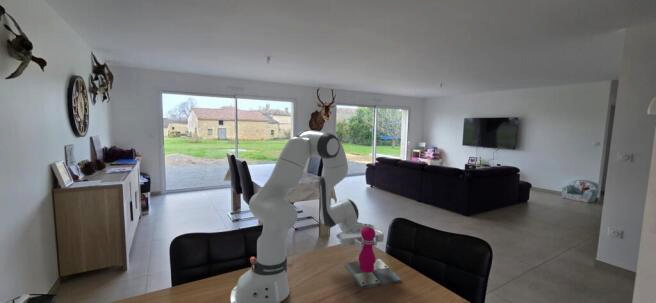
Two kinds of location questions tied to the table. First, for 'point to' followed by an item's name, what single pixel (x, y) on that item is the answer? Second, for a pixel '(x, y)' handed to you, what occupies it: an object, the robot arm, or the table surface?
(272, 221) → the robot arm
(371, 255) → the pepper mill
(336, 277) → the table surface
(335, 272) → the table surface
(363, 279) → the tile board
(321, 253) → the table surface
